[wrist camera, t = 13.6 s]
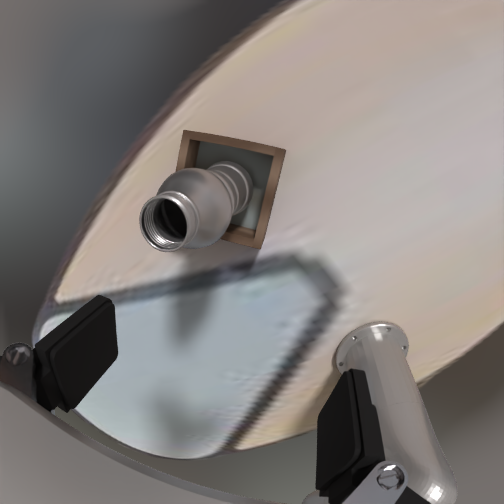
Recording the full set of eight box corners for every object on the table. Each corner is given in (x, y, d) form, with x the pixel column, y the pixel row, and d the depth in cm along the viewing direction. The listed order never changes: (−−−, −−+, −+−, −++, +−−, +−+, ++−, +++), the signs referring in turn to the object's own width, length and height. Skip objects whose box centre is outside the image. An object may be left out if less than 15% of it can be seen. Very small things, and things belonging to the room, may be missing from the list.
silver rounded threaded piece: (245, 153, 34) (187, 153, 15) (263, 202, 36) (228, 258, 17) (199, 171, 36) (107, 194, 17) (217, 218, 37) (146, 283, 19)
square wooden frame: (264, 238, 38) (260, 249, 34) (180, 217, 39) (167, 225, 34) (286, 150, 34) (284, 149, 29) (196, 132, 34) (183, 129, 30)
